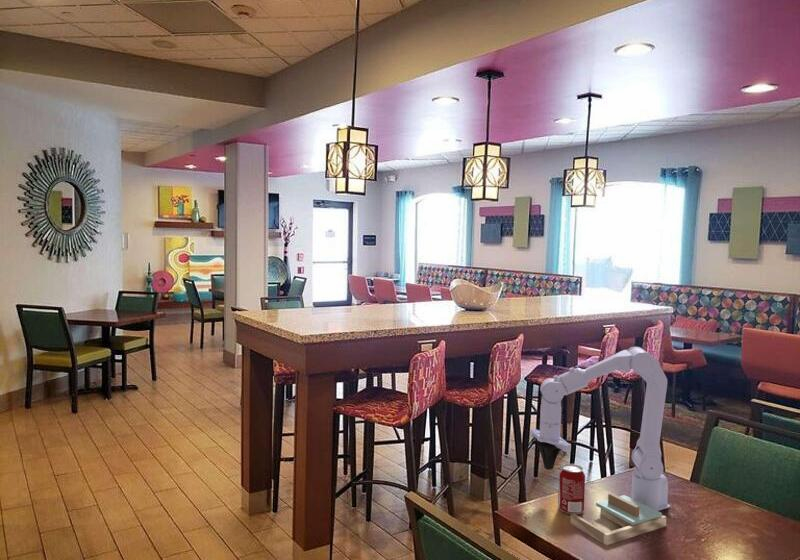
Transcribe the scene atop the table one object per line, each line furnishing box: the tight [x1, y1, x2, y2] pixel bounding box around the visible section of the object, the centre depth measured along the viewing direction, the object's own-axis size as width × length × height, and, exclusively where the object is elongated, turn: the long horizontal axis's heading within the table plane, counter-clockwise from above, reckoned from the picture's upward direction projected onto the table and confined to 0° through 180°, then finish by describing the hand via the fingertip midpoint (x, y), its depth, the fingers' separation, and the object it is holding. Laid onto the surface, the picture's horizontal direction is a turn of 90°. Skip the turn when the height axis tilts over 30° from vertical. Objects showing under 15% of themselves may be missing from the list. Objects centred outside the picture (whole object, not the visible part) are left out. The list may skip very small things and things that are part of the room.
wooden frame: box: [570, 508, 667, 546], centre depth 150 cm, size 22×13×2 cm, turn 118°
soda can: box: [557, 463, 586, 516], centre depth 157 cm, size 7×7×12 cm
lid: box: [595, 492, 663, 525], centre depth 152 cm, size 11×12×3 cm
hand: (548, 468), depth 164 cm, fingers closed
